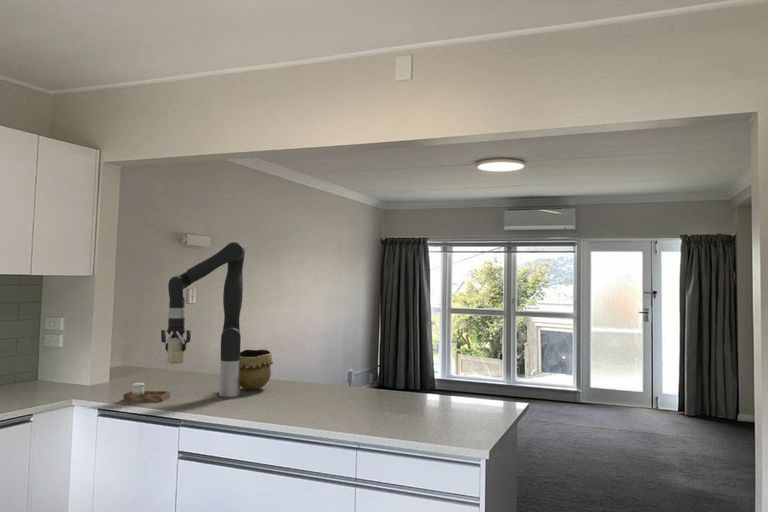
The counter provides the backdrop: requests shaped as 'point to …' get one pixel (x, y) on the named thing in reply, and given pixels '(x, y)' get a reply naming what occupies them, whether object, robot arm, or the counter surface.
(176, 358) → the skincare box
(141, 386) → the jar
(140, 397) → the caddy
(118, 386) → the counter surface
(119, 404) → the counter surface
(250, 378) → the clay pot
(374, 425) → the counter surface
